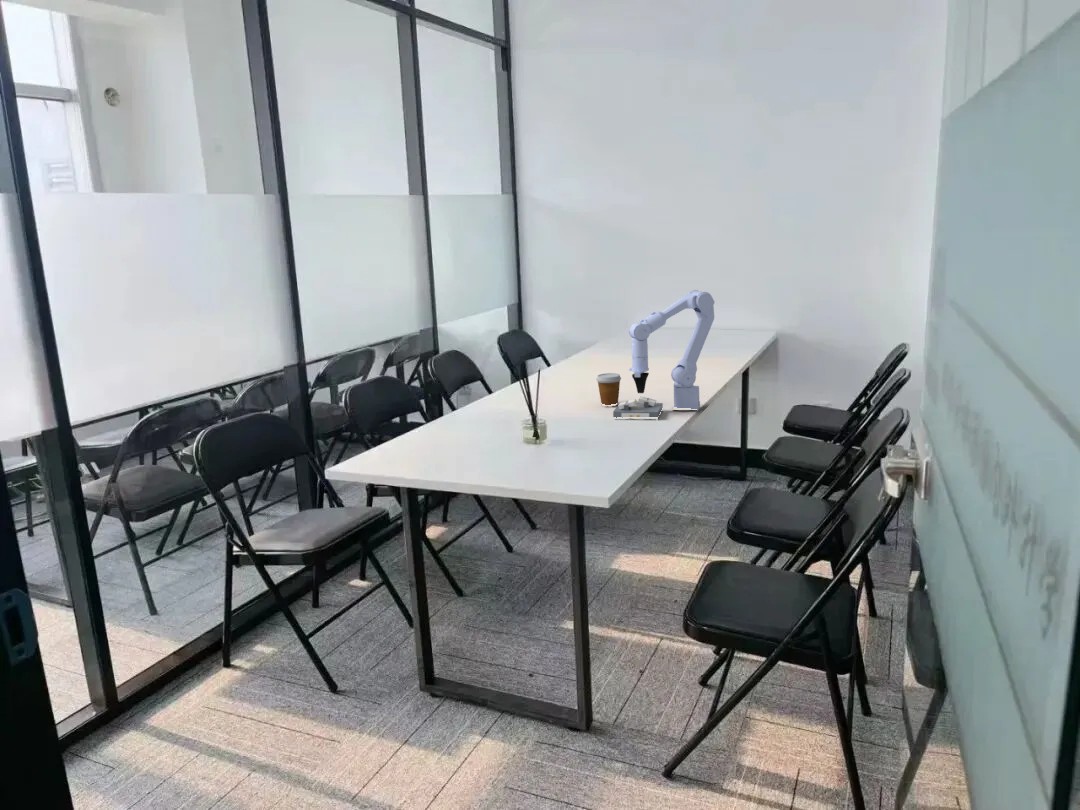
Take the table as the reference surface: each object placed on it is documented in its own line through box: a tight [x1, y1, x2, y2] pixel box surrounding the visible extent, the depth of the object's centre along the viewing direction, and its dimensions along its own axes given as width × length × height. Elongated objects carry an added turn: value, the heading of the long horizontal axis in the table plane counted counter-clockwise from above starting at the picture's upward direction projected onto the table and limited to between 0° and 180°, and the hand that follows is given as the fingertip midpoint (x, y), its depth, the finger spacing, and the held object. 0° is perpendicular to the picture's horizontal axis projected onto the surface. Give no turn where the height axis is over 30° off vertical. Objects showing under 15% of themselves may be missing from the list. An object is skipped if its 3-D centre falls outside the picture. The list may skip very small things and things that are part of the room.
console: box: [612, 402, 664, 418], centre depth 288 cm, size 16×14×5 cm
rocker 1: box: [618, 398, 638, 409], centre depth 286 cm, size 6×4×2 cm, turn 74°
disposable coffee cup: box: [596, 372, 622, 405], centre depth 305 cm, size 10×10×12 cm
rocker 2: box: [637, 395, 657, 406], centre depth 289 cm, size 6×4×2 cm, turn 74°
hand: (640, 392), depth 289 cm, fingers closed
